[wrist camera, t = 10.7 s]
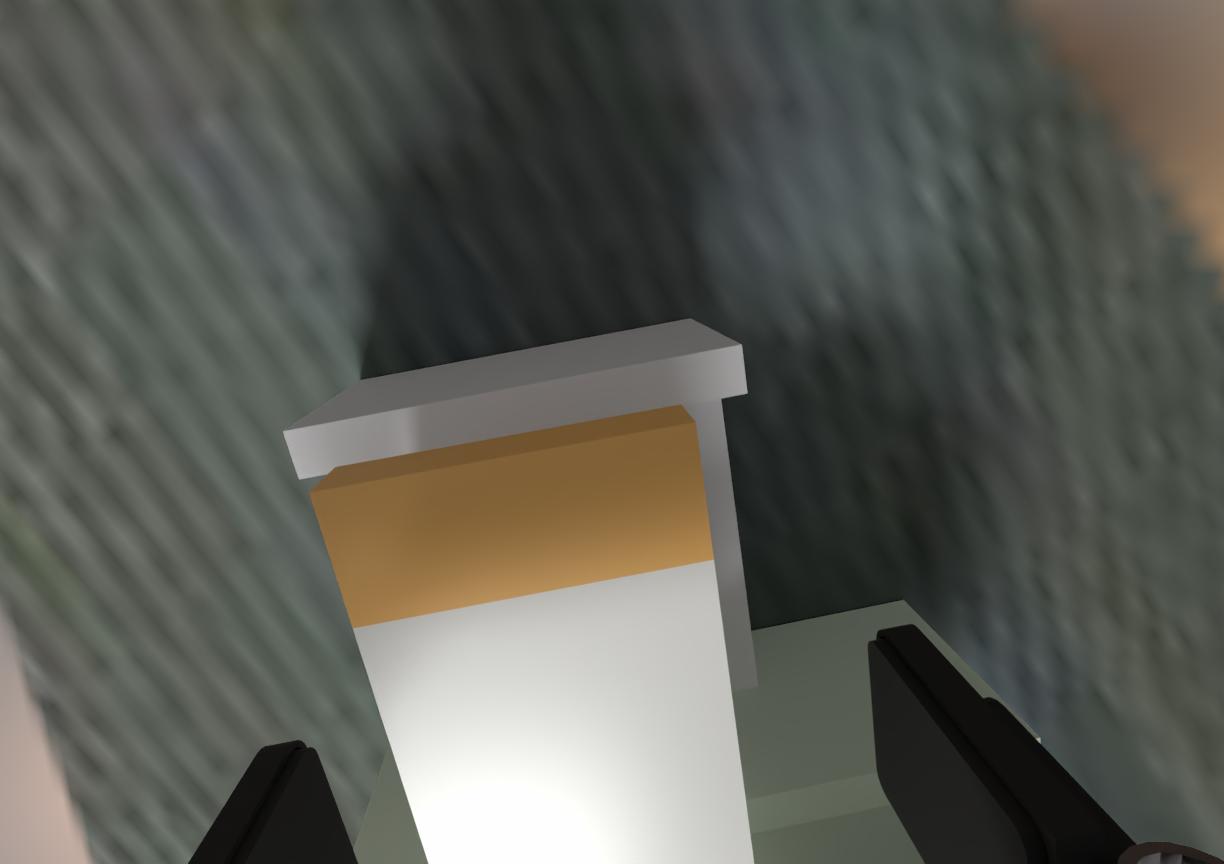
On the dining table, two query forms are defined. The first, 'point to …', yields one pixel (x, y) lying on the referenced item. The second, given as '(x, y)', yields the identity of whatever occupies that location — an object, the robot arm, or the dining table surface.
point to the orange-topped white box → (547, 643)
